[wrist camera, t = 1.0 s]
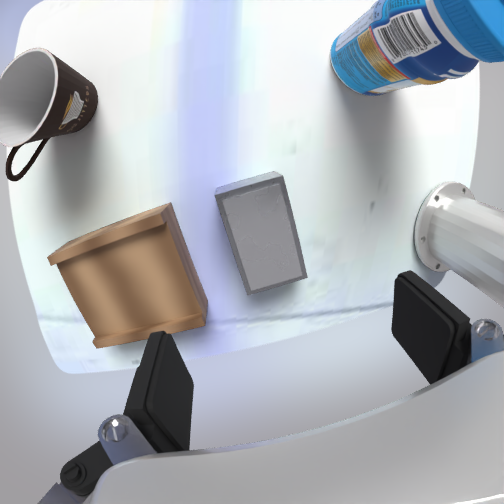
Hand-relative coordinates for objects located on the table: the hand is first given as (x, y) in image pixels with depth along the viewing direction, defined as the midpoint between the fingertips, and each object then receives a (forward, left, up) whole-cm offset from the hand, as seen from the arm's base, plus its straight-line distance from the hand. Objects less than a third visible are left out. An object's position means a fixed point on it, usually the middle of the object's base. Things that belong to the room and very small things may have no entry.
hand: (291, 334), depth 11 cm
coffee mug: (+16, -18, -20) cm, 31 cm away
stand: (+14, +2, -20) cm, 25 cm away
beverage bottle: (-17, -14, -20) cm, 29 cm away
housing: (-1, +1, -20) cm, 20 cm away
